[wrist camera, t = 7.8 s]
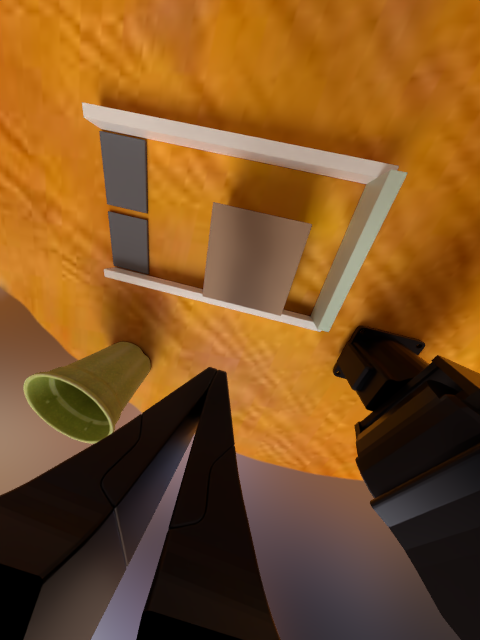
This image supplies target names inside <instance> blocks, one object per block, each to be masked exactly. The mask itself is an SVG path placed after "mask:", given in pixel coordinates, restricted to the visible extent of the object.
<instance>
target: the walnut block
mask: <svg viewBox="0 0 480 640" xmlns="http://www.w3.org/2000/svg"><path fill="white" fill-rule="evenodd" d="M311 227H312V224H309V223H304V222H300V221H295V220H291V219H286V218H282V217H277V216H273V215H269V214H264V213H260V212H255V211H251V210H246V209H242V208H237V207H233V206H228V205H224V204H219V203H215V202H213V209H212V218H211V226H210V235H209V243H208V252H207V261H206V269H205V278H204V286H203V295H202V296H203V297H207V298H211V299H215V300H219V301H223V302H227V303H231V304H235V305H239V306H243V307H247V308H251V309H255V310H259V311H263V312H267V313H271V314H275V315H279V316H281V314H282V311H283V309H284V306H285V303H286V300H287V297H288V294H289V291H290V288H291V285H292V282H293V279H294V276H295V273H296V271H297V268H298V265H299V262H300V259H301V256H302V253H303V250H304V247H305V244H306V241H307V238H308V235H309V233H310V230H311Z"/></svg>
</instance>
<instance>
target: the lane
mask: <svg viewBox="0 0 480 640" xmlns="http://www.w3.org/2000/svg"><path fill="white" fill-rule="evenodd" d="M82 107H83V114H84V118H86V119H87V120H89V121H90V122H92V123H93V124H95V125H96V126H97V127H99V128H100V129H104V130H108V131H113V132H118V133H123V134H128V135H132V136H137V137H142V138H147V139H152V140H156V141H161V142H166V143H171V144H176V145H180V146H185V147H190V148H195V149H200V150H205V151H209V152H214V153H219V154H224V155H229V156H233V157H238V158H243V159H248V160H253V161H257V162H262V163H267V164H272V165H277V166H281V167H286V168H291V169H296V170H301V171H306V172H310V173H315V174H320V175H325V176H330V177H334V178H339V179H344V180H349V181H354V182H358V183H363V184H366V186H365V189H364V191H363V193H362V196H361V198H360V200H359V203H358V205H357V208H356V210H355V212H354V215H353V217H352V219H351V222H350V224H349V226H348V229H347V231H346V233H345V236H344V238H343V240H342V243H341V245H340V248H339V250H338V252H337V255H336V257H335V259H334V262H333V264H332V266H331V269H330V271H329V273H328V276H327V278H326V281H325V283H324V285H323V288H322V290H321V292H320V295H319V297H318V299H317V302H316V304H315V306H314V309H313V311H312V313H311V316H307V315H303V314H299V313H295V312H291V311H287V310H283V311H282V314H281V316H279V315H275V314H271V313H267V312H263V311H259V310H255V309H251V308H247V307H243V306H239V305H235V304H231V303H227V302H223V301H219V300H215V299H211V298H207V297H203V296H202V295H203V289H200V288H196V287H192V286H188V285H184V284H180V283H176V282H172V281H168V280H164V279H160V278H156V277H152V276H148V275H144V274H140V273H137V272H133V271H129V270H125V269H121V268H117V267H113V268H107V269H104V274H105V277H108V278H112V279H116V280H120V281H124V282H128V283H132V284H135V285H139V286H143V287H147V288H151V289H155V290H159V291H163V292H167V293H171V294H174V295H178V296H182V297H186V298H190V299H194V300H198V301H202V302H206V303H210V304H214V305H217V306H221V307H225V308H229V309H233V310H237V311H241V312H245V313H249V314H253V315H257V316H260V317H264V318H268V319H272V320H276V321H280V322H284V323H288V324H292V325H296V326H299V327H303V328H307V329H311V330H315V331H319V332H321V330H322V331H326V332H329V330H330V328H331V326H332V324H333V322H334V320H335V318H336V316H337V314H338V312H339V310H340V308H341V306H342V304H343V302H344V300H345V298H346V296H347V294H348V292H349V290H350V288H351V286H352V284H353V282H354V280H355V278H356V276H357V274H358V272H359V270H360V268H361V266H362V264H363V262H364V260H365V258H366V256H367V254H368V252H369V250H370V248H371V246H372V244H373V242H374V240H375V238H376V236H377V234H378V232H379V230H380V228H381V226H382V224H383V222H384V220H385V217H386V215H387V213H388V211H389V209H390V207H391V205H392V203H393V201H394V199H395V197H396V195H397V193H398V191H399V189H400V187H401V185H402V183H403V181H404V179H405V177H406V175H407V172H402V171H397V169H398V167H399V166H397V165H392V164H387V163H382V162H377V161H372V160H367V159H362V158H357V157H352V156H347V155H342V154H337V153H332V152H327V151H322V150H317V149H312V148H307V147H302V146H297V145H292V144H287V143H282V142H277V141H272V140H267V139H262V138H257V137H252V136H247V135H242V134H237V133H232V132H227V131H222V130H217V129H212V128H207V127H202V126H197V125H192V124H187V123H182V122H177V121H172V120H167V119H162V118H157V117H152V116H147V115H142V114H137V113H132V112H128V111H123V110H118V109H113V108H108V107H103V106H98V105H93V104H88V103H83V102H82Z"/></svg>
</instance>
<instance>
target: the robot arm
mask: <svg viewBox="0 0 480 640" xmlns="http://www.w3.org/2000/svg"><path fill="white" fill-rule="evenodd" d="M361 330H364V331H363V332H360V331H361ZM418 344H419V345H418ZM416 345H418V346H416ZM424 347H425V343H424V342H422V341H420V340H417V339H413V338H409V337H405V336H401V335H397V334H393V333H389V332H385V331H382V330H378V329H374V328H370V327H366V326H359V327H358V328H357V329H356V330H355V332H354V334H353V336H352V337H351V339H350V341H349V343H347V344H346V346H345V348H344V349H343V351H342V353H341V355H340V356H339V358H338V360H337V364H336V365H335V367H334V369H333V373H334V375H335V376H337V377H341V378H344V379H347V381H348V383H349V384H350V386H351V388H352V389H353V390H355V391H356V392H357V394H358V396H359V397H360V399H361V401H362V402H363V404H364V406H365V408H366V409H367V410H370V411H373V412H372V413H371V414H370V415H368V416H367V417H366V418H365V419H364V420H362V421H361V422H358V423H357V424H355V432H356V439H357V440H356V447H357V454H358V457H357V458H356V464H357V466H358V469H359V471H360V474H361V476H362V478H363V480H364V482H365V483H366V485H367V487H368V489H369V491H370V493H371V494H372V496H373V497H374V499H373V500H371V501H370V504H371V506H372V508H373V509H374V510H375V511H376V512H377V514H378V515H379V516H380V517H381V519H382V520H383V521H384V522H385V523H386V524H387V526H388V527H389V528H390V530H391V531H392V532H393V534H394V535H395V537H396V538H397V540H398V541H399V543H400V544H401V546H402V547H403V548H404V550H405V551H406V553H407V555H408V557H409V558H410V560H411V562H412V563H413V565H414V567H415V568H416V570H417V572H418V574H419V576H420V577H421V579H422V581H423V582H424V584H425V586H426V588H427V590H428V592H429V593H430V595H431V597H432V599H433V600H434V602H435V604H436V606H437V608H438V610H439V611H440V613H441V615H442V616H443V618H444V619H445V620H446V622H447V623H448V624H449V625H450V627H451V628H452V629H453V630H454V632H455V633H456V634H457V635H458V636H459V638H460V639H461V640H480V374H479V373H477V372H474V371H472V370H470V369H468V368H466V367H463V366H461V365H459V364H457V363H455V362H452V361H450V360H448V359H446V358H444V357H441V356H439V355H437V356H436V357H435V358H434V359H433V360H431V361H432V363H431V364H428V363H427V362H426V361H424V360H423V359H422V358H420V357H419V356H418V355H419V353H420V352H421V351H422V350H423V349H424ZM338 371H339V372H338ZM337 372H338V373H337ZM195 431H196V433H195ZM194 433H195V437H194V440H193V444H192V447H191V451H190V454H189V458H188V461H187V465H186V468H185V472H184V475H183V479H182V482H181V486H180V489H179V493H178V496H177V500H176V504H175V507H174V510H173V514H172V518H171V521H170V525H169V530H168V532H167V535H166V539H165V542H164V545H163V549H162V552H161V556H160V559H159V562H158V566H157V569H156V572H155V576H154V579H153V582H152V585H151V588H150V592H149V595H148V598H147V601H146V604H145V607H144V611H143V613H142V617H141V621H140V626H139V630H138V635H137V639H136V640H281V639H280V637H279V634H278V631H277V628H276V626H275V623H274V621H273V618H272V614H271V612H270V608H269V605H268V601H267V598H266V594H265V591H264V587H263V583H262V580H261V576H260V572H259V568H258V563H257V559H256V554H255V550H254V546H253V541H252V536H251V532H250V527H249V523H248V518H247V514H246V510H245V505H244V500H243V495H242V490H241V485H240V480H239V474H238V467H237V460H236V451H235V446H234V444H235V443H234V435H233V426H232V417H231V408H230V399H229V390H228V381H227V373H226V372H225V371H221V370H218V371H217V369H215V368H212V367H208V368H207V369H205V370H204V371H203V372H201V373H200V374H198V375H197V376H195V377H194V378H192V379H191V380H190V381H188V382H187V383H185V384H184V385H182V386H181V387H179V388H178V389H176V390H175V391H174V392H172V393H171V394H169V395H168V396H166V397H165V398H163V399H162V400H161V401H159V402H158V403H156V404H155V405H153V406H152V407H150V408H149V409H148V410H146V411H145V412H143V413H142V415H141V414H140V415H139V416H137V417H136V418H134V419H133V420H131V421H130V422H128V423H127V424H125V425H124V426H122V427H121V428H119V429H118V430H116V431H115V432H113V433H112V434H110V435H108V436H107V437H105V438H103V439H102V440H100V441H98V442H97V443H95V444H93V445H92V446H90V447H88V448H86V449H85V450H83V451H81V452H79V453H78V454H76V455H74V456H73V457H71V458H69V459H67V460H66V461H64V462H62V463H60V464H59V465H57V466H55V467H54V468H52V469H50V470H48V471H47V472H45V473H43V474H41V475H40V476H38V477H36V478H34V479H33V480H31V481H29V482H27V483H25V484H23V485H21V486H20V487H17V488H15V489H14V490H11V491H9V492H7V493H5V494H2V495H0V640H91V638H92V636H93V634H94V632H95V630H96V628H97V626H98V624H99V622H100V620H101V618H102V616H103V614H104V612H105V610H106V608H107V606H108V604H109V602H110V600H111V598H112V596H113V594H114V592H115V590H116V588H117V586H118V584H119V582H120V580H121V578H122V576H123V575H124V573H125V571H126V566H128V564H129V562H130V561H131V559H132V557H133V555H134V553H135V551H136V548H137V547H138V544H139V543H140V541H141V538H142V537H143V535H144V533H145V531H146V529H147V527H148V525H149V523H150V521H151V519H152V517H153V515H154V513H155V511H156V509H157V507H158V505H159V503H160V501H161V499H162V497H163V495H164V493H165V491H166V489H167V487H168V485H169V483H170V481H171V479H172V477H173V475H174V473H175V471H176V469H177V467H178V465H179V463H180V461H181V459H182V457H183V455H184V453H185V451H186V449H187V447H188V445H189V443H190V441H191V439H192V437H193V435H194Z"/></svg>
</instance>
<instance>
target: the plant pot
mask: <svg viewBox="0 0 480 640" xmlns="http://www.w3.org/2000/svg"><path fill="white" fill-rule="evenodd" d="M150 369H151V364H150V360H149V358H148V357H147V356H145V355H144V354H143V352H142V350H141V348H139V347H138V346H136V345H134V344H132V343H129V342H118V343H116V344H113V345H111V346H109V347H107V348H105V349H103V350H101V351H98V352H96V353H94V354H92V355H90V356H87V357H85V358H83V359H81V360H78V361H76V362H74V363H72V364H69V365H67V366H65V367H59V368H56V369H53V370H51V371H49V372H40V373H36V374H33V375H31V376H30V377H28V378H27V379H26V381H25V382H24V394H25V397H26V399H27V401H28V403H29V405H30V406H31V408H32V409H33V410H34V411H35V412H36V414H38V416H39V417H40V418H41V419H43V420H44V421H45V422H46V423H47V424H48V425H50V426H51V427H53V428H54V429H55V430H57V431H59V432H61V433H62V434H64V435H66V436H68V437H70V438H72V439H75V440H77V441H81V442H84V443H97V442H98V441H100V440H102V439H103V438H105V437H107V436H108V435H110V434H112V433H113V432H114V430H115V424H116V423H117V421H118V420H119V418H120V415H121V412H122V411H123V409H124V407H125V406H126V405H127V403H128V402H129V400H130V399H131V397H132V396H133V395H134V393H135V392H136V390H137V389H138V387H139V386H140V385H141V383H142V382H143V380H144V379H145V378H146V376H147V375H148V373H149V372H150Z"/></svg>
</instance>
